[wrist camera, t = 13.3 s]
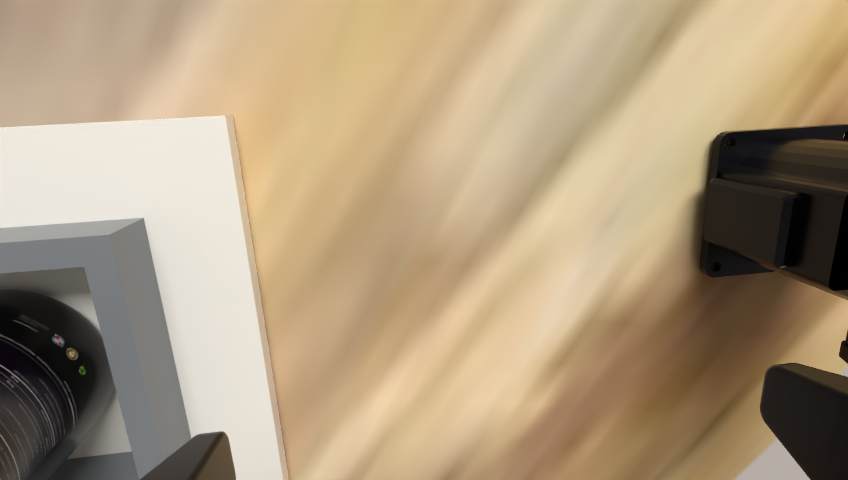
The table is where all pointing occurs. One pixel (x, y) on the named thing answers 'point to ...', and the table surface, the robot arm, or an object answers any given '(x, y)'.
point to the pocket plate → (148, 283)
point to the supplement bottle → (47, 383)
